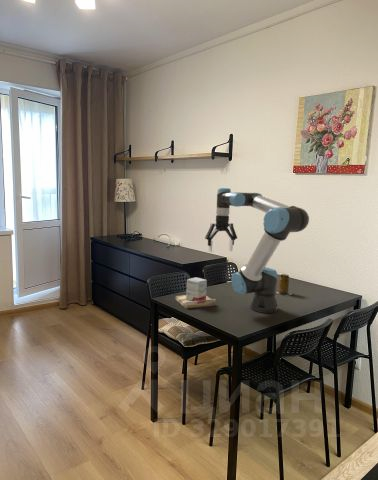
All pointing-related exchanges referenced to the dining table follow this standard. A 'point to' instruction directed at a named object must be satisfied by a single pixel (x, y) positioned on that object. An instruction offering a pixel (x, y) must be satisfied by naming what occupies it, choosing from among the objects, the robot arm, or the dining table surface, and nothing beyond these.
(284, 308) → the dining table surface
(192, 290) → the ink box
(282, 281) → the condiment
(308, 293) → the dining table surface
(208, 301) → the shelf board
